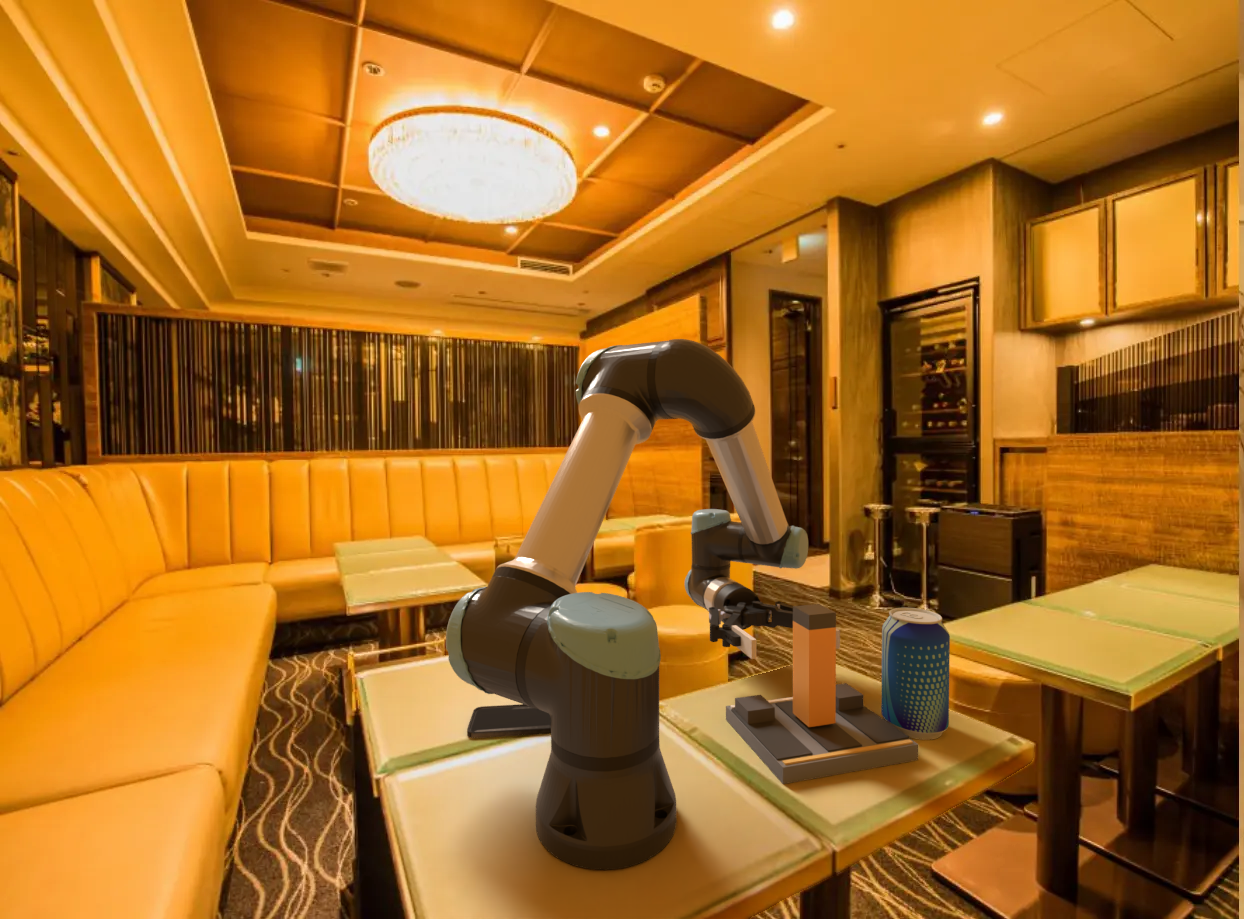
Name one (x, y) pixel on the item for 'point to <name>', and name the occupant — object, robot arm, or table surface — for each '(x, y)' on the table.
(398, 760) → the table surface
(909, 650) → the beer can
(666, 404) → the robot arm
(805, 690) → the orange lever
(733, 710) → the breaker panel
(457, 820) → the table surface
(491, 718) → the phone
